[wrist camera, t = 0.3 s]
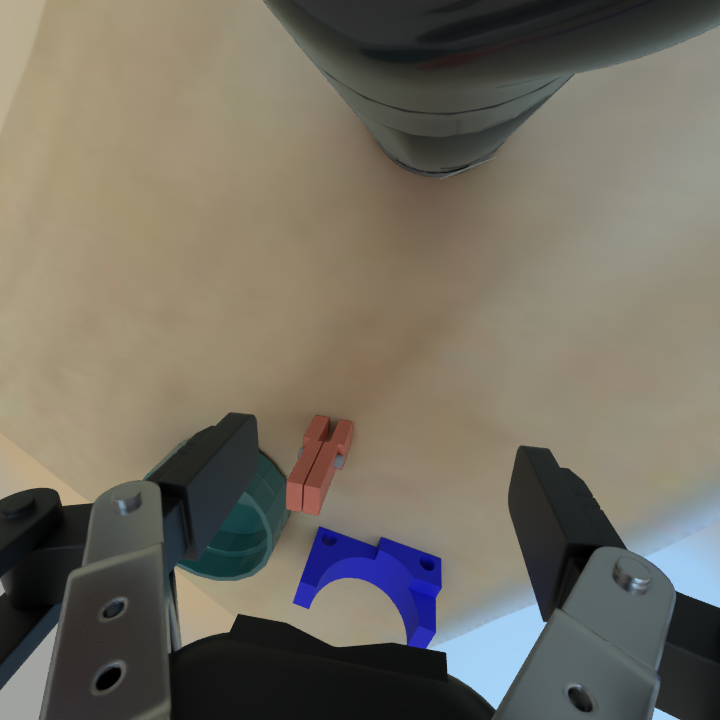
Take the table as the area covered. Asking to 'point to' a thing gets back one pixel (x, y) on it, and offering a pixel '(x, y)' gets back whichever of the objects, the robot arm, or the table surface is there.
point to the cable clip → (378, 577)
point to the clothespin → (317, 465)
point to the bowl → (244, 528)
